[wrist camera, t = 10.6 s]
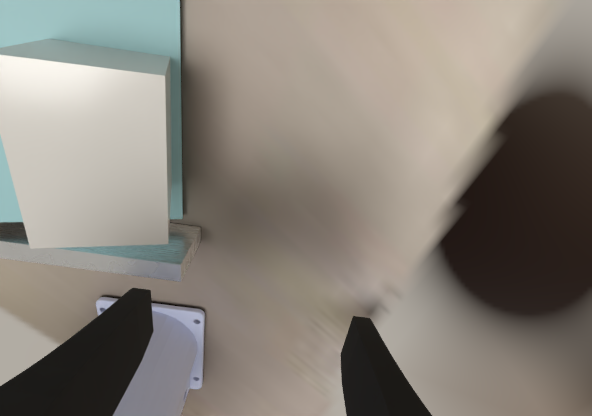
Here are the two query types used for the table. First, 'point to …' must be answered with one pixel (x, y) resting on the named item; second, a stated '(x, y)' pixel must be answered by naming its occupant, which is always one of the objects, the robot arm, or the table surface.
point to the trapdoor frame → (109, 253)
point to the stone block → (88, 142)
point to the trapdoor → (108, 33)
